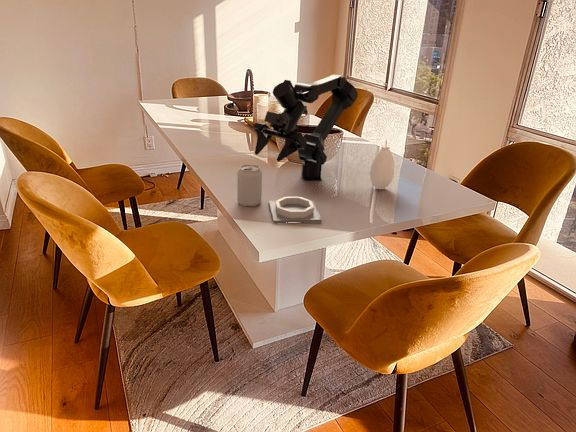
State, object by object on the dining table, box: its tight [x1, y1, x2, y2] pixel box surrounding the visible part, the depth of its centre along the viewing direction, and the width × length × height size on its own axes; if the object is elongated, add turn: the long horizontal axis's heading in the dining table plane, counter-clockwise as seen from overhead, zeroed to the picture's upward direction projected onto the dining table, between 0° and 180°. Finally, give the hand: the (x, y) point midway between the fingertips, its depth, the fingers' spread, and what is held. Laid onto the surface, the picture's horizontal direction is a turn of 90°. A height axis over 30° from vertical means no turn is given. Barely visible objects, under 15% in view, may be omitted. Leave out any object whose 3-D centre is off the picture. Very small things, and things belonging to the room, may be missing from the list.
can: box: [236, 163, 263, 207], centre depth 138 cm, size 8×8×12 cm
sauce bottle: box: [369, 138, 395, 190], centre depth 152 cm, size 8×8×18 cm
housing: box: [268, 196, 322, 224], centre depth 135 cm, size 14×14×3 cm
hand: (266, 157), depth 140 cm, fingers open, 9 cm apart
